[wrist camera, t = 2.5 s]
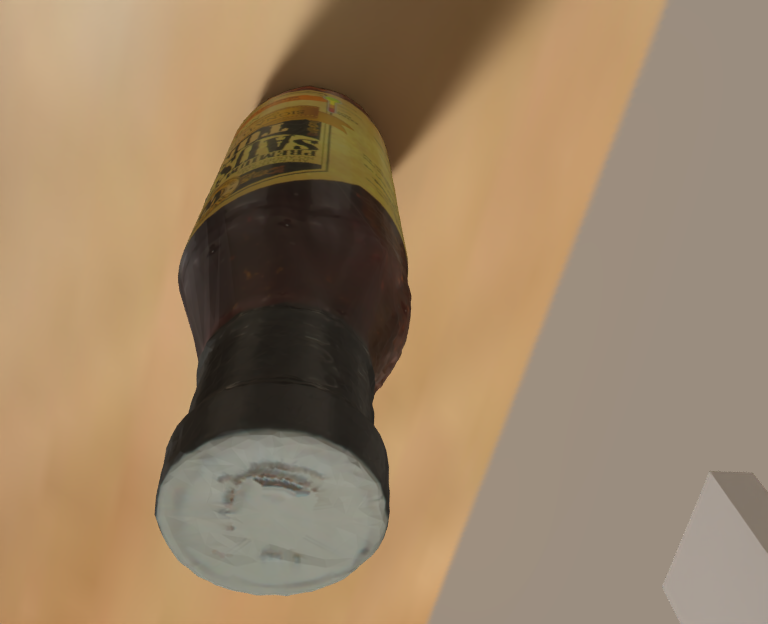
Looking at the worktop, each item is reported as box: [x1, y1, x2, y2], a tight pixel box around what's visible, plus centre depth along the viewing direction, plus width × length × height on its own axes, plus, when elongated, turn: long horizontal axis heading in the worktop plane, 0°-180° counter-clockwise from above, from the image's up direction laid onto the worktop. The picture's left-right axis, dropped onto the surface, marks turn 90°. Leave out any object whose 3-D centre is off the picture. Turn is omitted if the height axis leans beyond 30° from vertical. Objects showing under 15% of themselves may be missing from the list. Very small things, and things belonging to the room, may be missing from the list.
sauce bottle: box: [155, 86, 411, 596], centre depth 21 cm, size 7×6×20 cm
